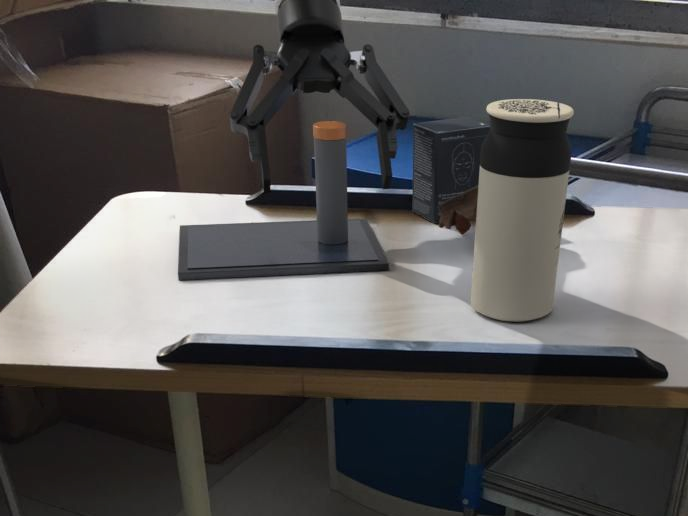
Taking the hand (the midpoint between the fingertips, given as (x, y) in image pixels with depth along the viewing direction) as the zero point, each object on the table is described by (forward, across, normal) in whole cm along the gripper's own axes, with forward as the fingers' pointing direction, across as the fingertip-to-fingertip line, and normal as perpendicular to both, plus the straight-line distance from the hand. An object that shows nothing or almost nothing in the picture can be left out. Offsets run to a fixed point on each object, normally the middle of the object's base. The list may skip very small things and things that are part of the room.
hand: (328, 184), depth 99 cm
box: (-1, -16, -10) cm, 19 cm away
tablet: (+7, +6, -2) cm, 9 cm away
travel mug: (+21, -15, +12) cm, 29 cm away
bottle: (+6, 0, -1) cm, 6 cm away
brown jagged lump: (+8, -18, -1) cm, 20 cm away
